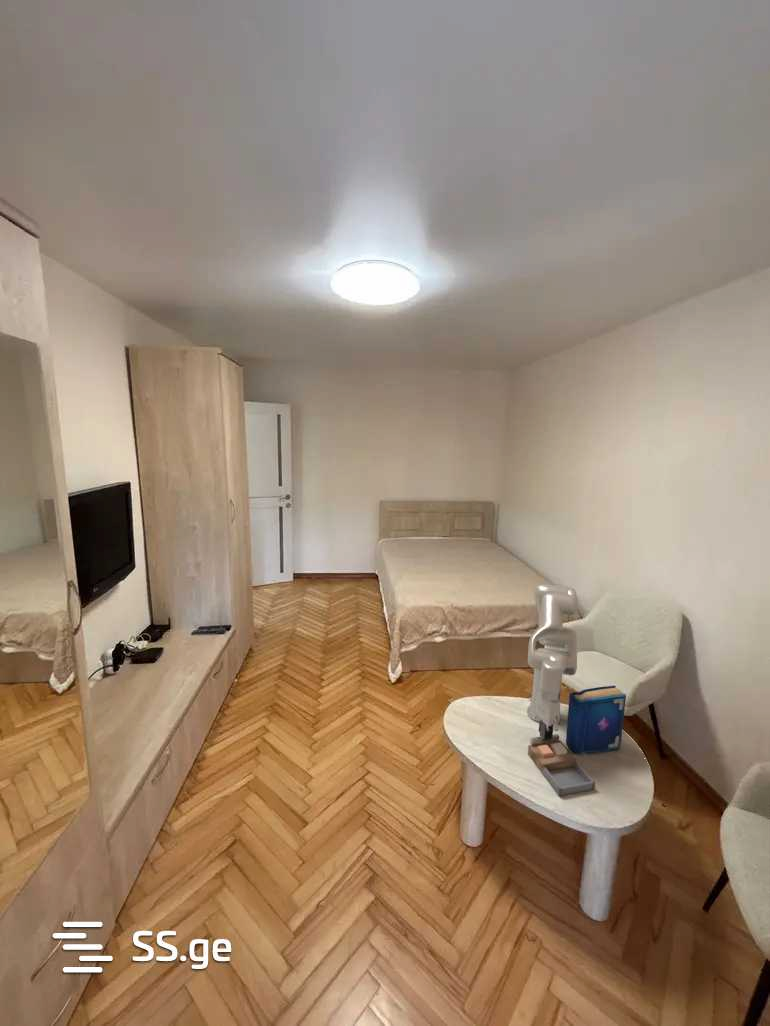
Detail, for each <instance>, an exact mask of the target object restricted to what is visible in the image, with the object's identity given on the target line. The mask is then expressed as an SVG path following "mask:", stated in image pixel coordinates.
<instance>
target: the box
mask: <svg viewBox="0 0 770 1026" xmlns="http://www.w3.org/2000/svg"><path fill="white" fill-rule="evenodd" d="M542 775H543V777H544V778H545V780H546V781H547V782H548V784H549V785H550V787H552V789H553V791H554V792H555V794H556V795H557V796H558V797H565V796H569V795H575V794H580V793H587V792H590V791H595V786H596V785H595V784H596V782H595V780H593V778H592V777H591V776H590V775H589V774H588V773H587V771H585V769H584V768H583V767H582V766H581V765H580V763H578V762H577V761H575V763H574V767H573V768H568V769H562V770H557V771H551V772H549V771H548V770H547V769H546V767H543V774H542Z"/></svg>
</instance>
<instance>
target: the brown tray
mask: <svg viewBox="0 0 770 1026" xmlns="http://www.w3.org/2000/svg"><path fill="white" fill-rule="evenodd" d="M555 743H561V744H562V745H563V746H564V747H565V748H566V749H567V754H561V755H557V754H556V753H555V752H554V750H553V749H552V748H551V744H555ZM543 745H547V746H548V747H549V748H550V749H551V751H552V752H553V756H549V757H542V755H541V754H540V753H539V751H538V750H537V747H538V746H543ZM527 747H528V748H527V755H528V757H529V758H530V760H531V761H532V762H533V764H534V765H535V766H536V767H537V769H538V770H539V772H540V773H541V774H542V775H543V767H546V769H547V770H548V771H549V772H551V771H557V770H562V769H568V768H573V767H574V763H575V761H577V759H578V758H576V756H575V754H574V753H572V752H571V751H570V750H569V749H568V747H567V745H566V744H564V742H563V741H562V740H560V739H559V741H556V742H549V743H543V744H537V745H531V744H528V746H527Z"/></svg>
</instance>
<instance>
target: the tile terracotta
mask: <svg viewBox="0 0 770 1026" xmlns="http://www.w3.org/2000/svg"><path fill="white" fill-rule="evenodd" d="M537 750H538V751H539V753H540V754H541V755H542V757H549V756H553V752H552V751H551V749H550V748H549V747H548V746H547V745H543V746H538V747H537Z"/></svg>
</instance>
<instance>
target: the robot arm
mask: <svg viewBox="0 0 770 1026" xmlns="http://www.w3.org/2000/svg"><path fill="white" fill-rule="evenodd" d="M533 592H534V601H535V604H536V605H535V606H536V608H537V611H538V612H537V613H538V628H537V629H536V630H535V631H534V632H533V633H532V634H531V636H530V638H529V641H528V649H527V650H528V653H527V663H528V666H529V667H530V668H532V669H533V682H532V694H531V696H530V697H528V700H529V702H530V704H529V706H527V709H526V714H527V716H529V718H530V719H532V720H533V721H534V722H537V723H539V725H538V732H539V733H540V726H541V720H542V721H543V722H544V723H545V724H546V729H545V736H544V738H545V739H550V738H552V736H553V735H554V731H555V732H558V731H560V729H559V724H560V721H561V720H560V718H561V702H560V700H561V699H560V698H561V691H562V690H561V689H562V680H563V675H566V676H574V675H576V674H577V672H578V671H577V670H578V636H577V633H576V631H575V629H573V628H572V627H568V626H564V625H563V623H564V621H563V615H568V616H576V615H577V614H578V610H579V599H578V596H577V592H576V589H574V588H573V587H572V586H571V587H570V586H566V585H565V586H564V585H557V584H556V585H555V584H549V583H548V584H547V583H546V584H545V583H543V584H537V585H536V586H535V588H534V591H533ZM537 642H538V643H539V644H541V645H543V646H546V647H550V648H546V647H539V648H536V647H537ZM554 648H555V649H554ZM556 648H557V649H562V650H557V649H556ZM549 726H551V727H549Z"/></svg>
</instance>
